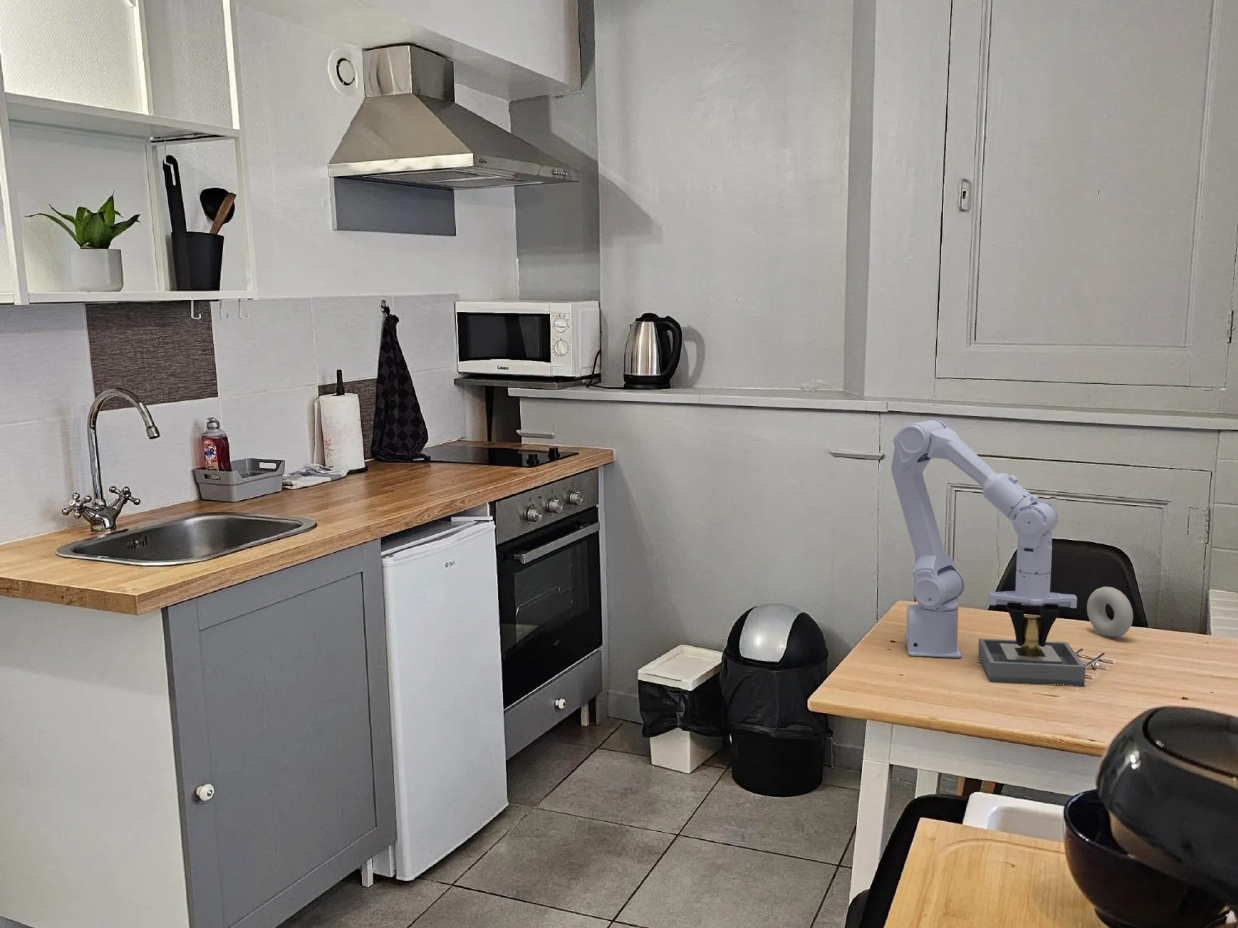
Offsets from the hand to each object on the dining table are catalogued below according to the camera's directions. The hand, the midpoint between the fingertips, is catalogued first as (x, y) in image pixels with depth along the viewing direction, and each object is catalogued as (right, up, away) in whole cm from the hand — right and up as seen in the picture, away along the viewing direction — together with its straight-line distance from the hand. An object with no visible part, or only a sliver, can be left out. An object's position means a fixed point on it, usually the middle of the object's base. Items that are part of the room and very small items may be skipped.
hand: (1030, 644), depth 189 cm
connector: (0, -2, 0) cm, 2 cm away
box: (0, -5, +1) cm, 5 cm away
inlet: (0, -5, +1) cm, 5 cm away
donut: (+23, -2, +20) cm, 30 cm away
